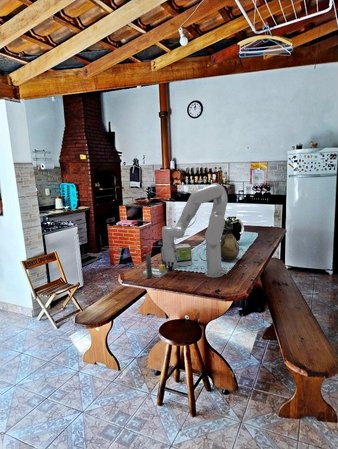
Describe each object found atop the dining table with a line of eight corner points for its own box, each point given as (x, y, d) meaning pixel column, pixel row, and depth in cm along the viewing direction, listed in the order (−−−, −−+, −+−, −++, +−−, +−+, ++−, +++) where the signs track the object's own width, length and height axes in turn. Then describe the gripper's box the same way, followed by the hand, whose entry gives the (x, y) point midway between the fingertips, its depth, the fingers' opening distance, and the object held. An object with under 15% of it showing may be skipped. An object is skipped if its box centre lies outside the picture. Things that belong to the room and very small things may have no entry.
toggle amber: (165, 270, 211) (164, 264, 210) (162, 271, 208) (162, 266, 207) (161, 269, 212) (161, 264, 211) (159, 271, 210) (158, 265, 209)
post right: (167, 268, 220) (166, 247, 217) (165, 270, 218) (163, 248, 214) (164, 268, 222) (162, 247, 219) (161, 269, 219) (159, 248, 216)
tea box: (172, 268, 220) (170, 248, 217) (169, 264, 230) (168, 245, 227) (192, 265, 223) (191, 246, 220) (188, 261, 233) (187, 242, 230)
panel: (167, 273, 212) (166, 268, 211) (159, 277, 204) (159, 273, 204) (151, 270, 220) (150, 266, 219) (143, 274, 212) (142, 270, 211)
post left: (153, 277, 206) (151, 254, 203) (150, 278, 203) (148, 255, 200) (149, 276, 208) (147, 253, 205) (146, 278, 205) (144, 255, 202)
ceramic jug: (239, 263, 221) (238, 222, 215) (218, 263, 224) (216, 223, 218) (239, 255, 237) (238, 217, 231) (219, 256, 240) (217, 218, 234)
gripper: (181, 244, 201) (183, 270, 205) (162, 242, 210) (164, 267, 213) (175, 247, 195) (177, 274, 199) (156, 245, 204) (158, 271, 207)
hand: (170, 270), depth 206 cm, fingers closed
